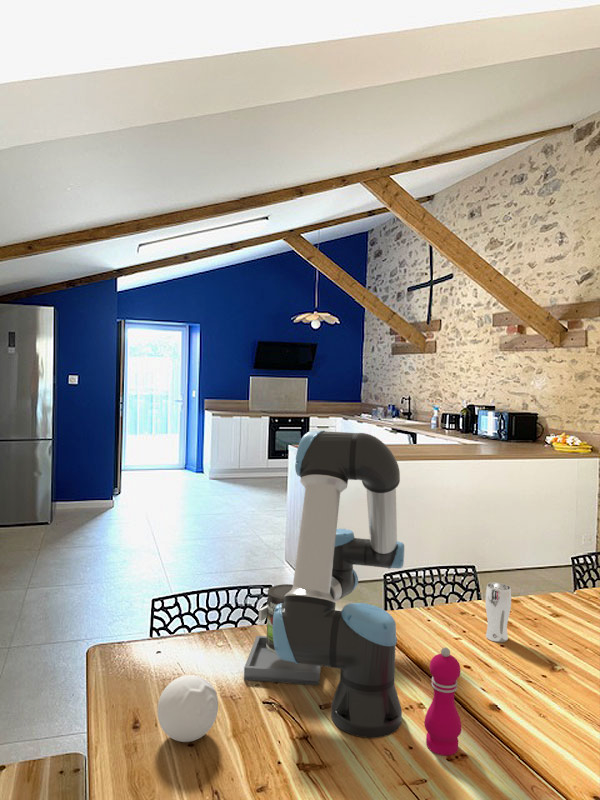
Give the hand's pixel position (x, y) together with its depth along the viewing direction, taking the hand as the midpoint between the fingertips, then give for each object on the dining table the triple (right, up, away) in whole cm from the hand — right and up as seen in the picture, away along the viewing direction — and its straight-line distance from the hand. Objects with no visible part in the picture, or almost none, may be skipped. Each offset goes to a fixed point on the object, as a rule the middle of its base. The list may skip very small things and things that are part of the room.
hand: (277, 620), depth 148 cm
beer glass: (+62, -14, +23) cm, 68 cm away
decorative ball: (-17, -13, -27) cm, 35 cm away
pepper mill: (+34, -15, -28) cm, 47 cm away
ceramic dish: (+2, -13, +4) cm, 13 cm away
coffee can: (+2, -8, +4) cm, 9 cm away
